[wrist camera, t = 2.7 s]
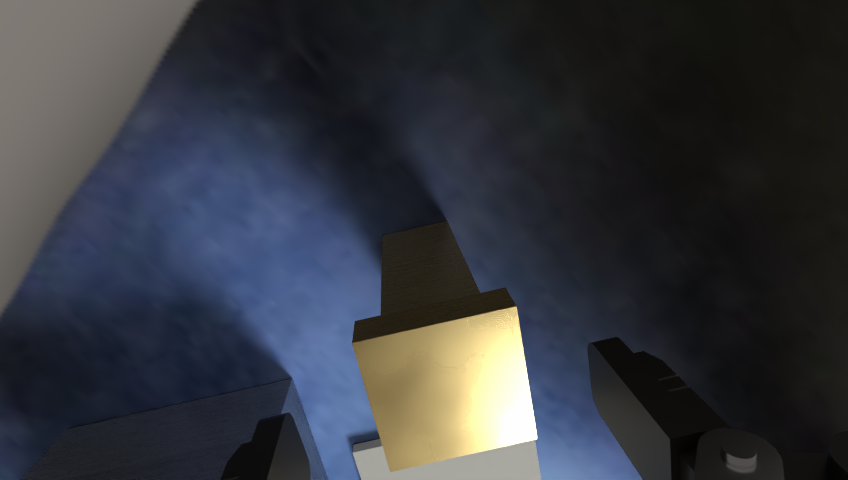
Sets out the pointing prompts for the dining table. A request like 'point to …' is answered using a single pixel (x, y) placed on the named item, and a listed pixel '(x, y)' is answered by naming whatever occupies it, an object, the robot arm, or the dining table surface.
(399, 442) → the capped wooden post
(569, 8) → the dining table surface
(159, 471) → the block
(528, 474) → the mat
